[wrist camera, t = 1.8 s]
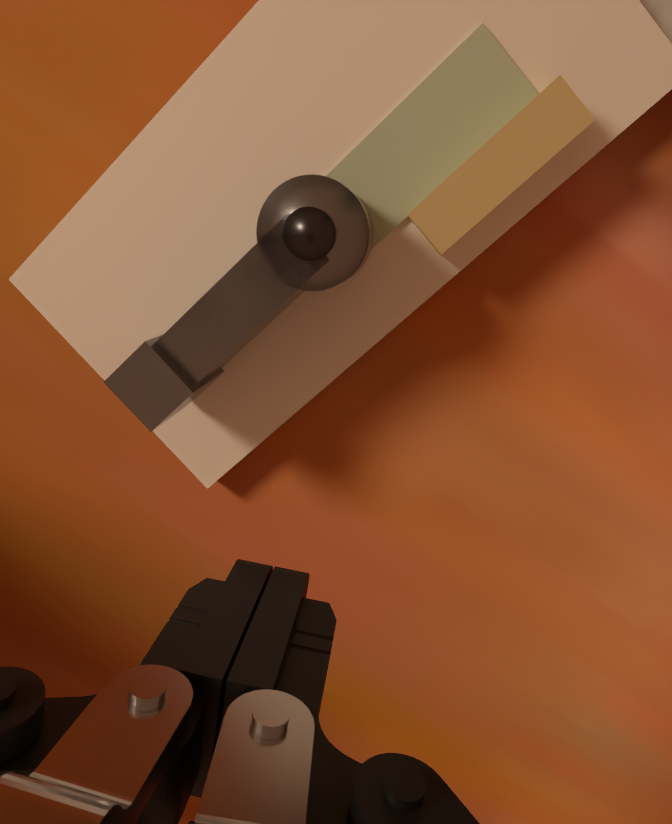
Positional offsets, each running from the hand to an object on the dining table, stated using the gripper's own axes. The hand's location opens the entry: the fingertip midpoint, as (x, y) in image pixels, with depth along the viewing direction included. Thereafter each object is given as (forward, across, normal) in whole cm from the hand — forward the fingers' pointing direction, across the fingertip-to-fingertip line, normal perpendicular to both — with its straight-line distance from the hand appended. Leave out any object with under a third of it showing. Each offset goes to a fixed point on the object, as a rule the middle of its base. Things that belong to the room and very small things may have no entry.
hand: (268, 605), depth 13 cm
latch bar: (+15, +4, -4) cm, 17 cm away
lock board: (+17, +3, -9) cm, 19 cm away
